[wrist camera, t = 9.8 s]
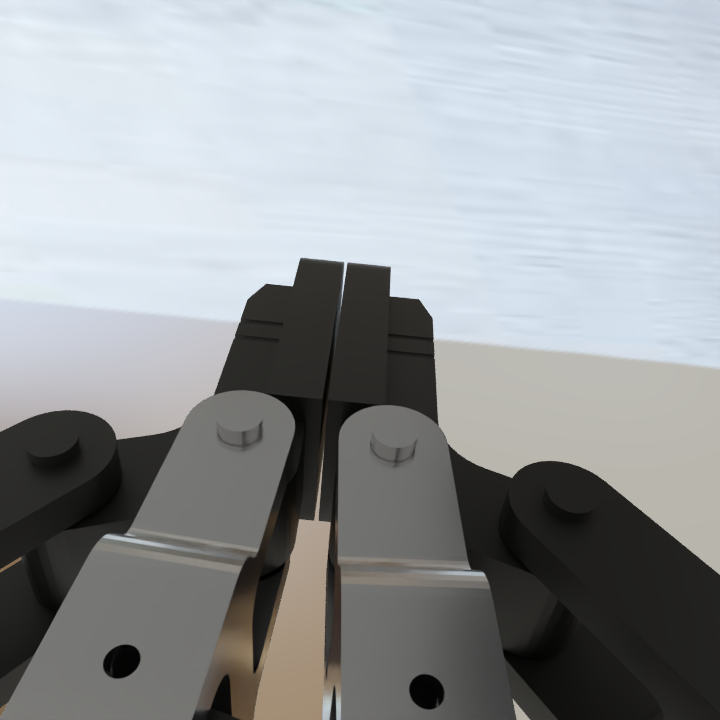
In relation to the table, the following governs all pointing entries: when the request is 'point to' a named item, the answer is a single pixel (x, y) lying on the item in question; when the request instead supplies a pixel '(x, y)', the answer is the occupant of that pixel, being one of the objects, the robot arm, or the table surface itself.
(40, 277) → the table surface
